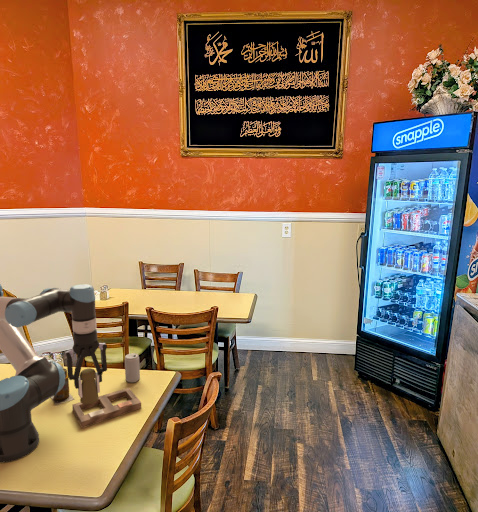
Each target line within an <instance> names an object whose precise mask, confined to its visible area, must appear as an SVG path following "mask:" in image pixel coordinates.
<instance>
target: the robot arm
mask: <svg viewBox="0 0 478 512" xmlns="http://www.w3.org/2000/svg"><path fill="white" fill-rule="evenodd" d="M59 312H62V313H63V312H64V313H70V314H71V323H72V331H73V332H72V337H73V339H72V340H73V346H72V348H70V349H69V350H65V351H64V354H65V357H66V367H67V368H66V370H67V375H68V379H69V381H72V380H73V384H74V387H75V389H76V390H77V391H78V392H77V394H78V397H79V399H81V398H82V380H81V378H80V373H81V371H82V365H83V362H84V359H85V358H87V357H91V360H92V363H93V365H94V367H95V372H96V377H95V383H96V387H97V393H98V394H99V393H101V387H100V386H101V385H100V383H102V382H103V374H104V372H107V371H108V364H107V353H106V352H107V351H106V350H107V347H108V345H107V344H106V342H99V341H98V330H97V316H96V315H97V314H96V295H95V289H94V286H93V285H91V284H88V283H84V284H83V283H80V284H75V285H72V286H71V287H70V288H69V289H62V288H59V287H47V288H45V289H43V290H42V291H41V292H40V293H39V294H38V295H35V296H31V297H29V298H22V297H21V298H20V297H13V296H12V297H11V296H4V291H3V286H2V285H1V283H0V351H1V352H2V354H3V355H4V356H5V358H6V359H7V361H8V362H9V364H11V366H12V367H13V369H14V370H15V375H12V376H10V377H9V378H8V377H5V378H4V379H1V380H0V463H10V462H13V461H17V460H20V459H22V458H24V457H27V456H28V455H30V454H31V453H32V452H33V451H34V450H35V449H37V447H38V446H39V444H40V434H39V431H38V430H37V428H36V426H35V424H34V422H33V419H32V410H34V409H35V408H37V407H38V406H39V405H41V404H43V403H45V402H47V400H49V399H51V397H53V396H54V395H55V394H56V393H58V392H59V391H60V390H61V389H62V388H63V386H64V384H65V373H64V370H63V368H64V367H63V366H62V365H61V364H60V363H58V362H56V361H54V360H53V361H49V360H48V358H47V357H46V356H41V355H39V354H38V353H37V352H36V350H35V349H34V348H33V346H32V345H31V343H30V342H29V340H28V339H27V338H26V336H25V335H24V334H23V333H22V332H21V330H20V329H19V328H21V327H24V326H25V327H26V326H28V325H30V324H33V323H36V322H37V321H40V320H41V319H44V318H47V317H49V316H51V315H55V314H57V313H59ZM98 349H99V350H100V363H101V364H100V363H99V361H98V357H97V355H96V352H97V350H98ZM74 353H75V355H77V356H76V358H77V359H76V362H75V368H73V358H72V357H73V356H74ZM100 365H101V366H100ZM73 369H74V370H73Z"/></svg>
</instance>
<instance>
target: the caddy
mask: <svg viewBox="0 0 478 512" xmlns="http://www.w3.org/2000/svg"><path fill="white" fill-rule="evenodd" d="M98 397H99V399H98V400H97V401H96V402H94V403H91V404H82V403H81V402H77V403H72V404H71V405H72V411H73V414H74V415H75V417H76V419H77V421H78V423H79V425H80V427H81V429H82V428H87V427H88V426H92V425H95V424H98V423H101V422H104V421H107V420H110V419H113V418H116V417H119V416H123V415H124V414H127V413H130V412H134V411H136V410H139V409H142V401H141V400H140V399H139V398H138V397H137V396H136V395H135V393H134V392H133V391H132V389H131V388H130V387H126V388H124V389H120V390H116V391H113V392H110V393H107V394H103V395H98ZM125 397H126V399H127V400H126V401H124V402H120V403H117V404H114V405H113V403H112V402H113V401H116V400H118V399H122V398H125ZM96 406H100V407H101V409H99V410H98V409H97V410H94V411H91V412H89V413H86V414H84V410H87V409H90V408H92V407H93V408H94V407H96Z"/></svg>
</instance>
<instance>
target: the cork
mask: <svg viewBox="0 0 478 512" xmlns="http://www.w3.org/2000/svg"><path fill="white" fill-rule="evenodd" d="M96 372H97V371H96V369H94V368H92V367H91V368H90V367H89V368H85V369H83V370H81V371H80V375H79V377H80V378H81V384H82V398H79V400H80V402H81V403H82V404H91V403H94V402H96V401H97V400H98V399H99V393H97V387H96V383H95V377H96Z"/></svg>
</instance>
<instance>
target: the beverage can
mask: <svg viewBox="0 0 478 512" xmlns="http://www.w3.org/2000/svg"><path fill="white" fill-rule="evenodd" d="M124 357H125V358H124V371H125V372H124V374H125V381H127V382H128V383H137V382H138V381H139V380H140V379H141V373H140V371H141V370H140V366H141V365H140V356H139V353H137V352H136V353H135V352H132V353H128V354H126V355H125V356H124Z"/></svg>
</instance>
